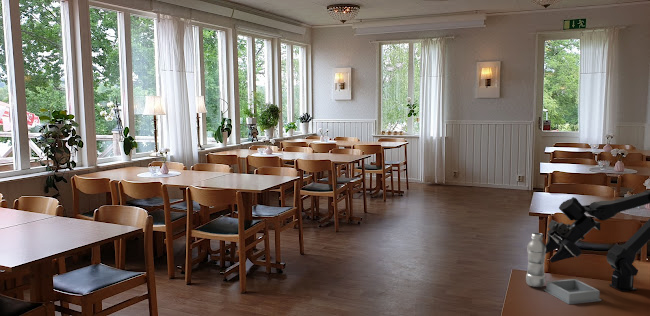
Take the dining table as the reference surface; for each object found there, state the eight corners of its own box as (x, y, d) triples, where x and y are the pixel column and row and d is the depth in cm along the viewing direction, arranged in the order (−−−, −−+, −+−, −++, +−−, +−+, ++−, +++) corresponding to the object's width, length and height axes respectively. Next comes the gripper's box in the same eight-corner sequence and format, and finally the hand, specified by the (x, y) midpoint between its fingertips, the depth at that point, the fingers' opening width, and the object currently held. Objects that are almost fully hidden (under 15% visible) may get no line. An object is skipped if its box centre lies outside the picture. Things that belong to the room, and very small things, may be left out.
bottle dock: (575, 287, 185) (575, 278, 184) (601, 300, 172) (602, 291, 172) (544, 290, 182) (544, 281, 182) (568, 304, 169) (569, 294, 169)
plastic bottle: (546, 289, 182) (549, 236, 180) (527, 288, 184) (529, 236, 181) (542, 283, 189) (545, 231, 186) (523, 282, 190) (526, 231, 188)
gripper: (553, 208, 192) (523, 235, 194) (574, 219, 173) (539, 249, 175) (574, 228, 192) (542, 255, 194) (596, 242, 174) (561, 271, 176)
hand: (546, 257), depth 185 cm, fingers open, 9 cm apart
